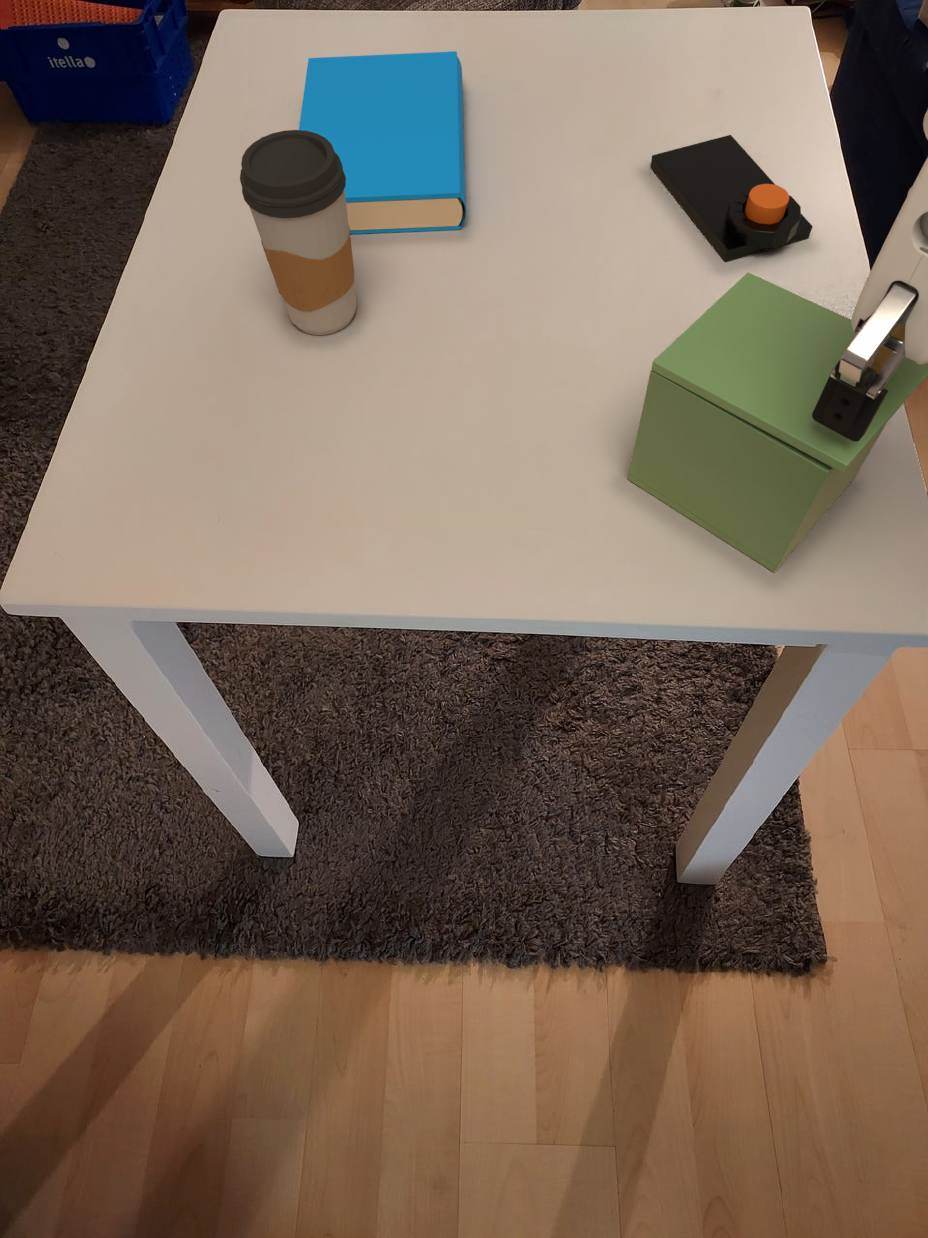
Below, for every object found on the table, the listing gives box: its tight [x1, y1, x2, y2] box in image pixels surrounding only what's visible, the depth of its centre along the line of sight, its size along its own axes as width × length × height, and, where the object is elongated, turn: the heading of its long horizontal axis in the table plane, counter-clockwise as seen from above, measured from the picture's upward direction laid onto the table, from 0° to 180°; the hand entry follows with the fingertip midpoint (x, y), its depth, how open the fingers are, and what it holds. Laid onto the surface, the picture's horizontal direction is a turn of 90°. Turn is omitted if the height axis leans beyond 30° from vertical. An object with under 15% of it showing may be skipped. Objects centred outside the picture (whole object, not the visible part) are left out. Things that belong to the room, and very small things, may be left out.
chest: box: [627, 369, 888, 573], centre depth 62 cm, size 14×12×12 cm
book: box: [298, 50, 467, 235], centre depth 88 cm, size 17×4×25 cm
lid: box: [651, 272, 928, 473], centre depth 54 cm, size 14×12×6 cm
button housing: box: [649, 134, 814, 263], centre depth 82 cm, size 17×9×3 cm, turn 20°
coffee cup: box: [239, 129, 357, 336], centre depth 72 cm, size 8×8×15 cm
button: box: [745, 184, 790, 224], centre depth 78 cm, size 4×4×2 cm
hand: (876, 382), depth 52 cm, fingers open, 9 cm apart
